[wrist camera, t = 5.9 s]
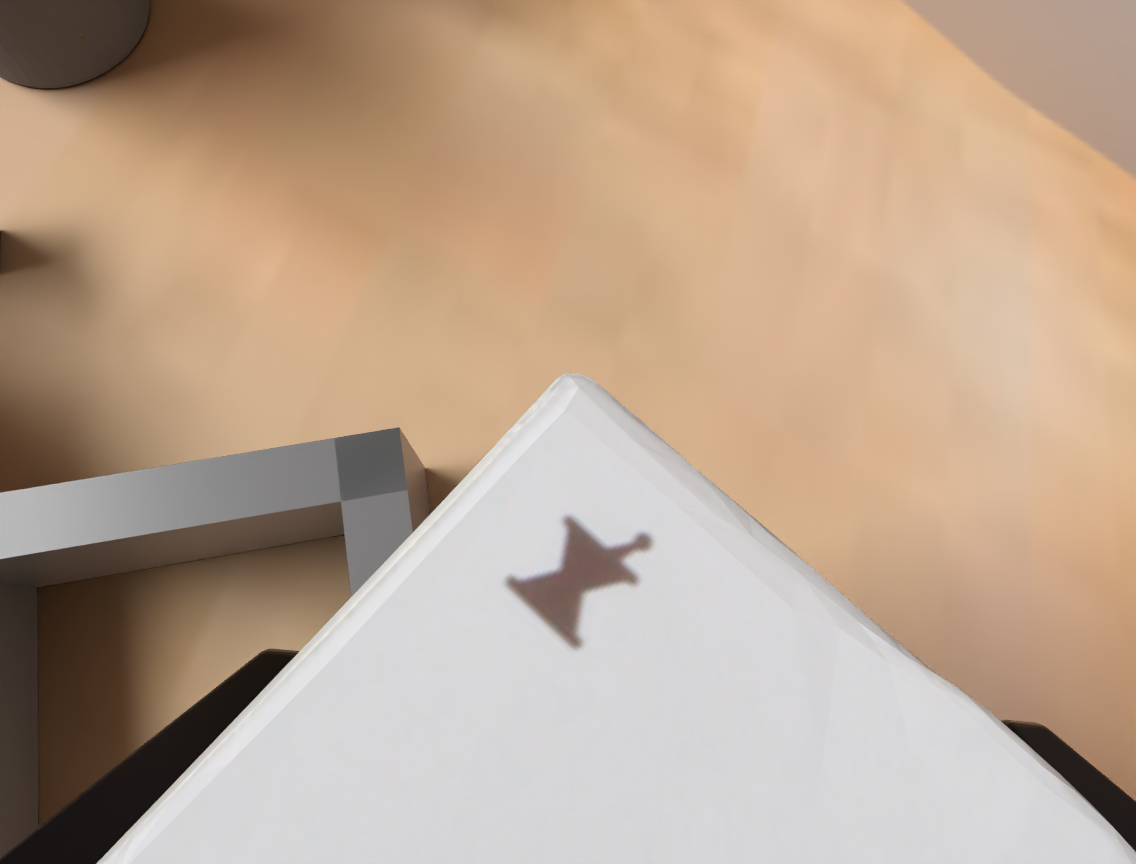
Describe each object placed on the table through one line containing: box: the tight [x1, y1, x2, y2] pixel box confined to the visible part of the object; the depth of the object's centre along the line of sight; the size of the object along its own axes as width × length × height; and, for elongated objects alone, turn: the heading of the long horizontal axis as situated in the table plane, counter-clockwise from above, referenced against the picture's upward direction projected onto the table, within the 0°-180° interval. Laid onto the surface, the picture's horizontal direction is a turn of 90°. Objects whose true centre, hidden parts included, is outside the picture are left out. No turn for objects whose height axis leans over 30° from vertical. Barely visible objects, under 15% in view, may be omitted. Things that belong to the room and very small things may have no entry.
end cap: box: [0, 428, 431, 857], centre depth 19 cm, size 11×12×4 cm
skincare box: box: [97, 374, 1136, 864], centre depth 9 cm, size 6×4×12 cm
